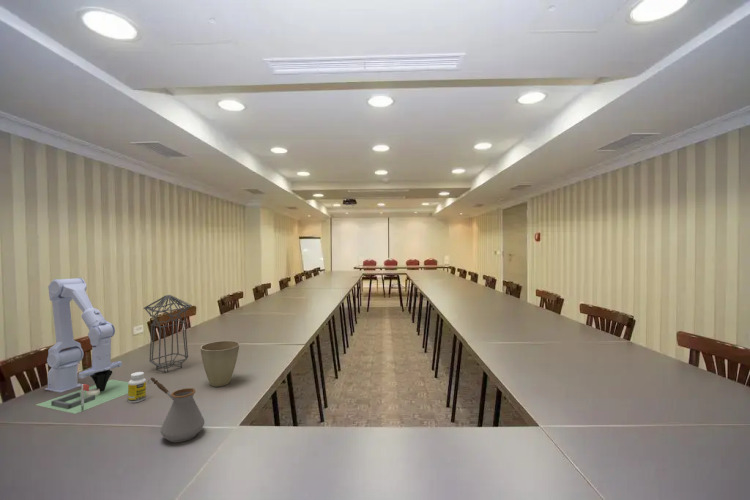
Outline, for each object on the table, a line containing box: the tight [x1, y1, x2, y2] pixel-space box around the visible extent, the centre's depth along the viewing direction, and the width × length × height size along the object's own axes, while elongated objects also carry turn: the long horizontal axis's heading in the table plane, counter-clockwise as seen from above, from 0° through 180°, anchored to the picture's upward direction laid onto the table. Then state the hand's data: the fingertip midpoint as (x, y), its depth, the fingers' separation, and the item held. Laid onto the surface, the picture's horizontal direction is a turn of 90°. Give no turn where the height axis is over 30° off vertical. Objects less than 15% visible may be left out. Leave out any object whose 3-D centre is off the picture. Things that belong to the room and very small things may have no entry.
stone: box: [86, 388, 100, 397], centre depth 130 cm, size 4×4×2 cm
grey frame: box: [51, 383, 95, 412], centre depth 123 cm, size 18×8×9 cm, turn 72°
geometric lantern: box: [143, 294, 193, 373], centre depth 161 cm, size 16×16×35 cm
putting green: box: [35, 379, 148, 415], centre depth 131 cm, size 21×26×1 cm
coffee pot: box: [147, 377, 205, 443], centre depth 105 cm, size 21×12×15 cm, turn 65°
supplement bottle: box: [127, 371, 147, 404], centre depth 127 cm, size 5×5×10 cm
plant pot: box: [200, 340, 240, 388], centre depth 143 cm, size 15×15×16 cm
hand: (101, 390), depth 133 cm, fingers closed
